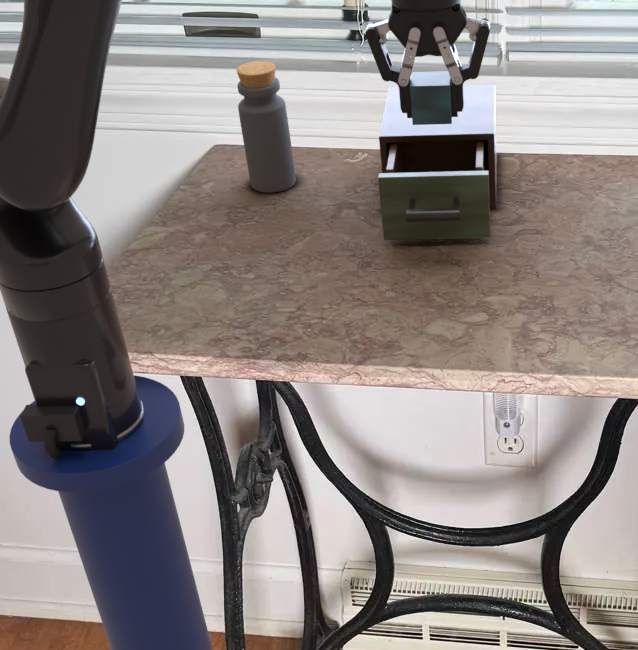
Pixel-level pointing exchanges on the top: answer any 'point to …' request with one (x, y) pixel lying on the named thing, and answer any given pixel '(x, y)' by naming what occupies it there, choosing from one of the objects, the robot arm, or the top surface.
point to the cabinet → (447, 127)
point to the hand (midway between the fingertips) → (433, 114)
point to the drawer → (435, 191)
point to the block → (431, 98)
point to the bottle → (265, 128)
